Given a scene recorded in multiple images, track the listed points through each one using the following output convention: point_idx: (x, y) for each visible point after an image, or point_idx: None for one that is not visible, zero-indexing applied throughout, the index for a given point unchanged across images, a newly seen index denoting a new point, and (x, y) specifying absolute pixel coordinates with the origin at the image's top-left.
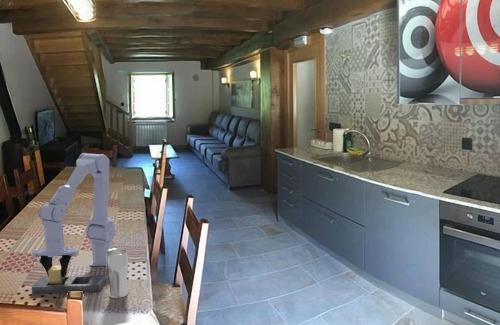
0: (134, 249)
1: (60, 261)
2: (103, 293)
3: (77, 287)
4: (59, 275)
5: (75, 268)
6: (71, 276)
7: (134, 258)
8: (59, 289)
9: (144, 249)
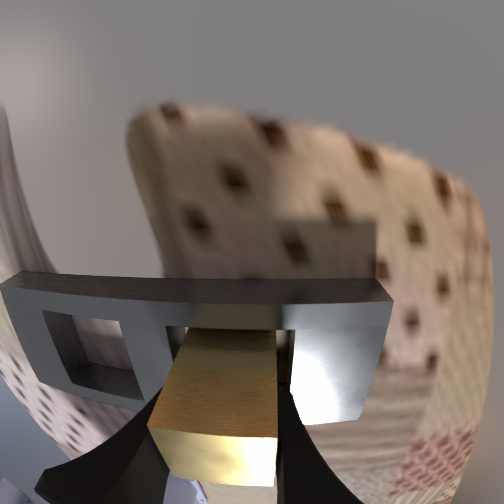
0: None
1: (93, 497)
2: (5, 255)
3: (75, 289)
4: (173, 387)
5: None
6: None
7: None
8: (186, 291)
9: None
